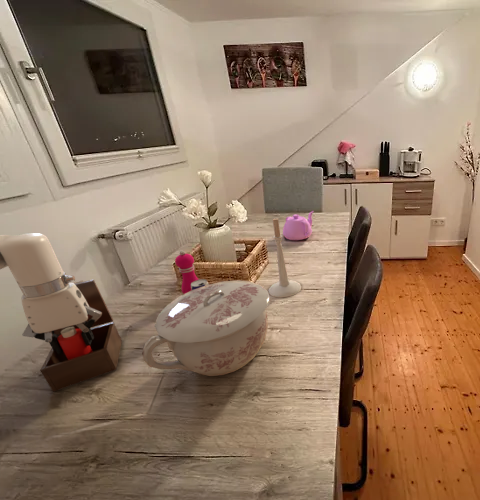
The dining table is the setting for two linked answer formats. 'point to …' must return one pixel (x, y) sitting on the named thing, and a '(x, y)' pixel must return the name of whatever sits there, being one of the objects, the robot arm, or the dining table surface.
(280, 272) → the candlestick
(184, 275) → the pepper mill
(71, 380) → the chest
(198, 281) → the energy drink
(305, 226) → the teapot
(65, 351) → the ketchup bottle
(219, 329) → the chamber pot
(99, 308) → the lid
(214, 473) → the dining table surface
